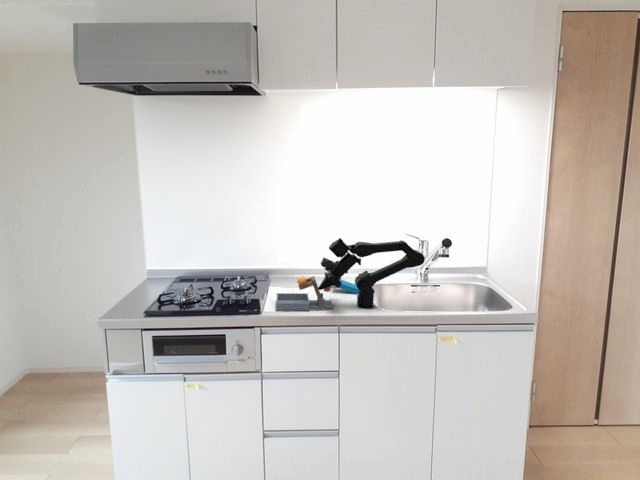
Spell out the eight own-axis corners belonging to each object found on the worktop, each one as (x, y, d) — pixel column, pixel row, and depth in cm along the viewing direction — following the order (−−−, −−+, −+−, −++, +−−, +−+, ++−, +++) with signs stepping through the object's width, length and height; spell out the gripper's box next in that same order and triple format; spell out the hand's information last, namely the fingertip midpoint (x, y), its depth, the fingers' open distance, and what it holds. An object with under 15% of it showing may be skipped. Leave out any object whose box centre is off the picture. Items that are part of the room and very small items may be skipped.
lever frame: (330, 302, 210) (331, 292, 209) (333, 309, 200) (333, 299, 199) (308, 302, 209) (309, 292, 208) (310, 309, 199) (310, 299, 198)
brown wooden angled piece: (321, 298, 207) (314, 275, 205) (323, 302, 201) (315, 279, 198) (305, 303, 207) (297, 281, 205) (306, 308, 201) (298, 285, 198)
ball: (308, 278, 204) (300, 273, 203) (308, 281, 200) (301, 276, 199) (302, 285, 204) (295, 280, 203) (303, 288, 200) (295, 283, 199)
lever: (357, 299, 230) (323, 287, 231) (362, 286, 229) (327, 275, 230) (357, 303, 224) (322, 291, 224) (362, 290, 222) (326, 278, 223)
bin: (307, 300, 211) (307, 293, 210) (309, 311, 197) (309, 303, 196) (276, 300, 210) (276, 293, 209) (276, 311, 196) (276, 303, 195)
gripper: (329, 247, 209) (304, 271, 211) (334, 256, 191) (307, 282, 192) (346, 264, 212) (321, 287, 213) (352, 275, 193) (325, 300, 194)
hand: (318, 289), depth 203 cm, fingers closed, pressing on brown wooden angled piece
